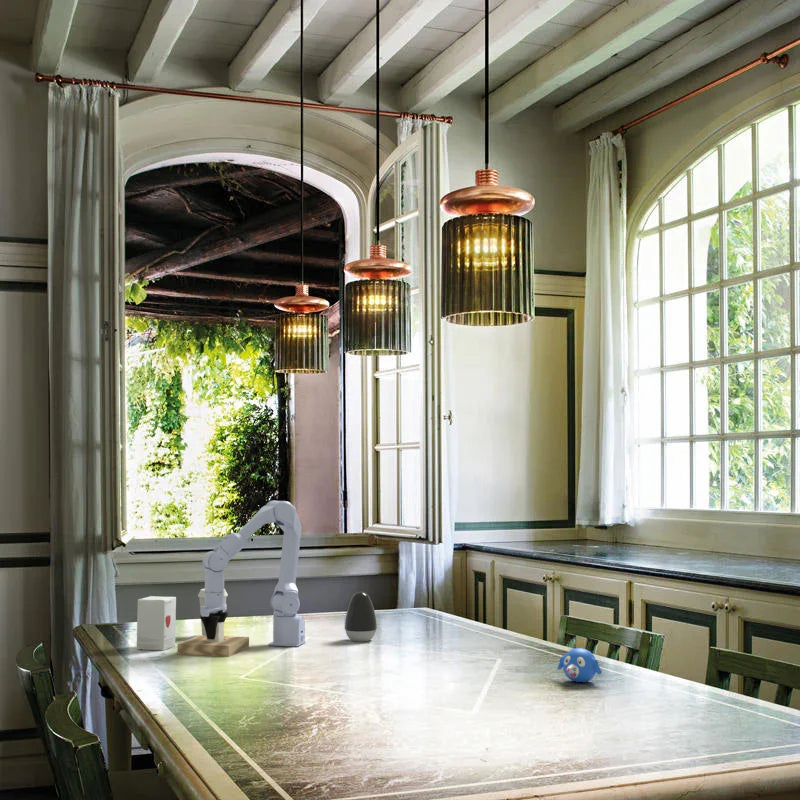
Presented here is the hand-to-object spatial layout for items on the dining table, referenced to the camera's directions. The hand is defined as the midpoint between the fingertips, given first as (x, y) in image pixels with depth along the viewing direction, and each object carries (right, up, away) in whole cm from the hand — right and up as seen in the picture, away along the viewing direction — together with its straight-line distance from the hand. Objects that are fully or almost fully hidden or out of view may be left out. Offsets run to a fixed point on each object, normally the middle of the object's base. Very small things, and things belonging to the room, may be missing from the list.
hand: (214, 638), depth 308 cm
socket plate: (0, -4, 0) cm, 4 cm away
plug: (0, -2, 0) cm, 2 cm away
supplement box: (-18, -4, +5) cm, 19 cm away
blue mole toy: (+100, -1, -48) cm, 111 cm away
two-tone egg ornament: (+43, -5, +18) cm, 47 cm away
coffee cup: (-5, -6, +27) cm, 28 cm away
